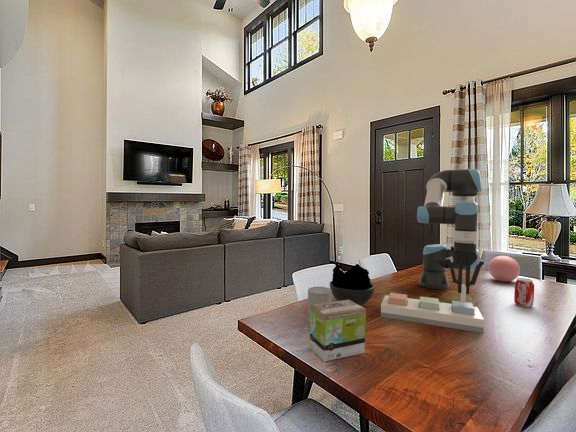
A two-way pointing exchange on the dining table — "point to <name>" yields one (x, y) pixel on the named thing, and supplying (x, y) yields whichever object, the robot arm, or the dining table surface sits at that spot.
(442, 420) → the dining table surface
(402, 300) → the button terracotta
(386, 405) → the dining table surface
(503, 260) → the balloon
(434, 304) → the button sage
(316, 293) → the gray cylinder
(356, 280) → the coal bowl
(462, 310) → the button blue
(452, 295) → the bread roll
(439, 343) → the dining table surface
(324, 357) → the tea box
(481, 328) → the console
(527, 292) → the soda can
